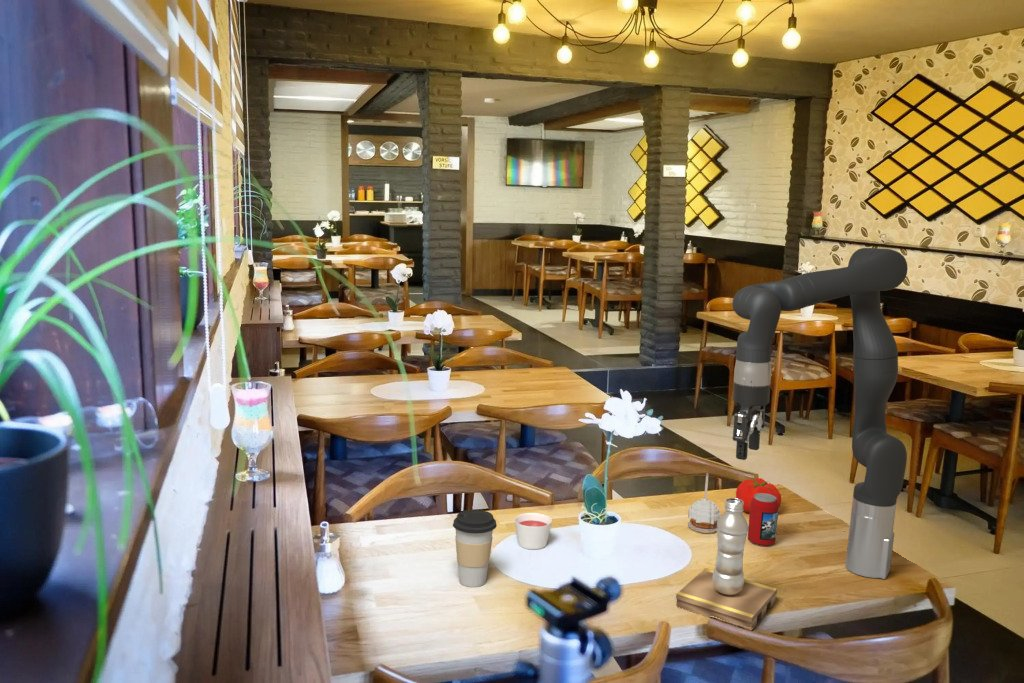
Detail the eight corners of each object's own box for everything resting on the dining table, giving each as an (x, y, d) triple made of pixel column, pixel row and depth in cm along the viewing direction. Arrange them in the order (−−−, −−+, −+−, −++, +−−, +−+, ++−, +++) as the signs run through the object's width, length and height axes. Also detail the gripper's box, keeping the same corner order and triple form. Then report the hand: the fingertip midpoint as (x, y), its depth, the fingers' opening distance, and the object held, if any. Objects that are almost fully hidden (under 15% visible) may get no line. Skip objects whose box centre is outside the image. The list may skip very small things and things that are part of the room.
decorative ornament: (716, 524, 218) (721, 470, 216) (719, 536, 211) (724, 479, 208) (686, 522, 219) (691, 467, 217) (688, 533, 212) (693, 477, 209)
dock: (775, 602, 176) (777, 588, 175) (750, 632, 163) (751, 617, 162) (704, 580, 185) (705, 567, 184) (675, 607, 172) (676, 593, 171)
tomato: (774, 523, 220) (777, 493, 219) (728, 513, 227) (730, 483, 225) (785, 509, 231) (788, 480, 230) (741, 500, 237) (743, 471, 236)
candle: (557, 548, 199) (558, 523, 198) (523, 554, 195) (524, 529, 194) (540, 535, 207) (541, 511, 206) (507, 540, 203) (508, 515, 202)
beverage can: (769, 550, 203) (773, 503, 201) (743, 542, 207) (747, 497, 205) (779, 542, 208) (783, 496, 206) (753, 534, 212) (757, 490, 210)
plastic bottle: (746, 589, 174) (754, 499, 171) (738, 602, 168) (746, 509, 165) (716, 581, 177) (723, 493, 174) (707, 594, 172) (714, 502, 168)
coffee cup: (446, 574, 183) (447, 510, 180) (486, 569, 186) (488, 506, 184) (458, 593, 174) (460, 526, 172) (500, 588, 177) (503, 521, 175)
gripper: (759, 389, 168) (754, 465, 170) (779, 377, 179) (774, 449, 182) (723, 384, 172) (719, 459, 174) (745, 373, 183) (741, 443, 186)
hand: (747, 454), depth 178 cm, fingers open, 8 cm apart
